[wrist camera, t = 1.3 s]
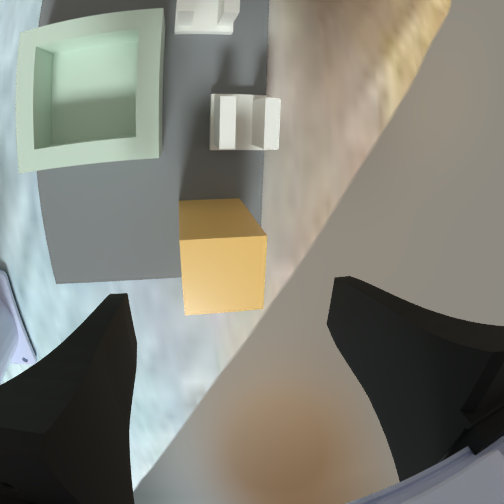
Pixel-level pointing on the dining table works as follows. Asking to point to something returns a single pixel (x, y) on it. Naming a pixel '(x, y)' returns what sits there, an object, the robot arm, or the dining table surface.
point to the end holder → (90, 90)
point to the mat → (157, 169)
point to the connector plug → (221, 257)
